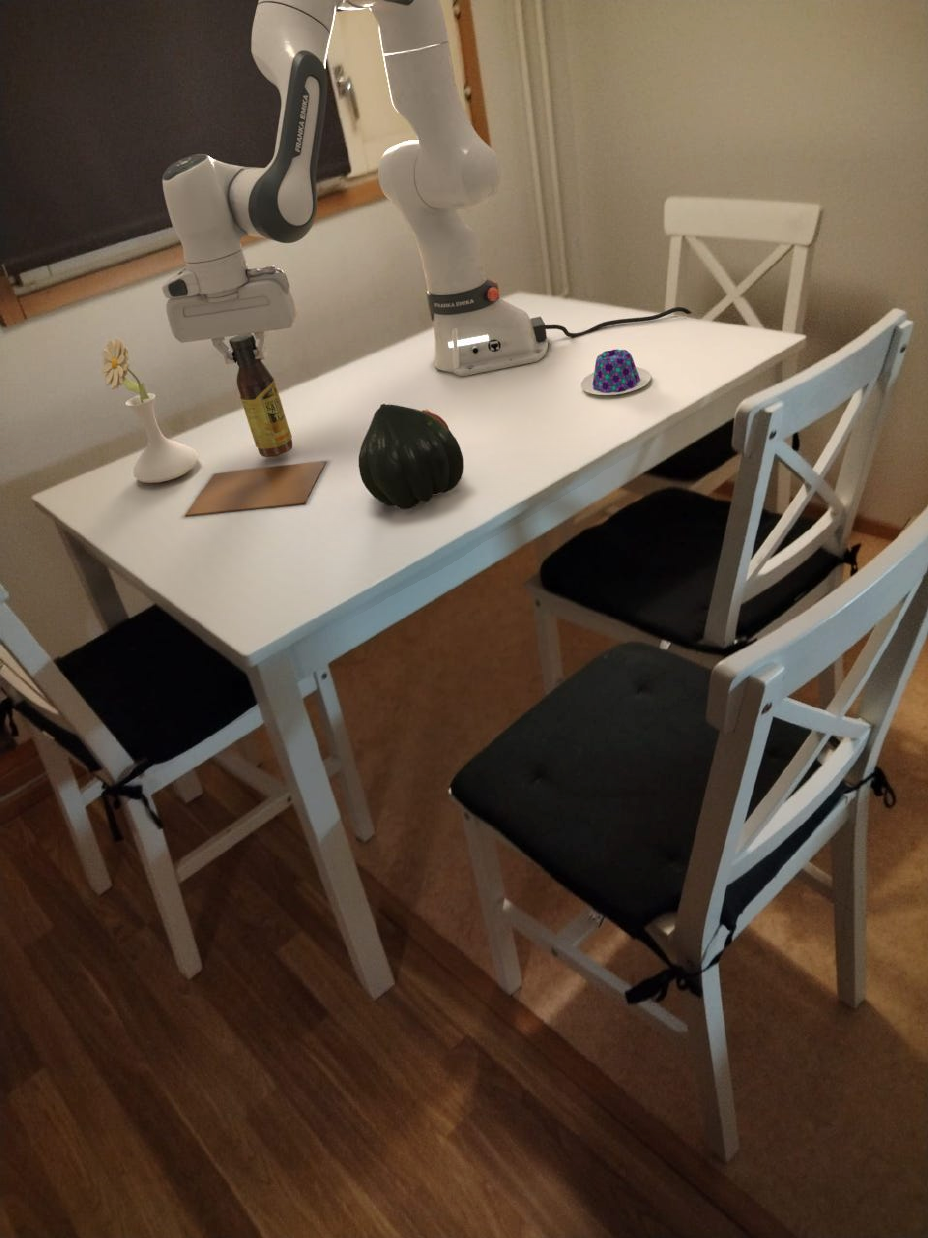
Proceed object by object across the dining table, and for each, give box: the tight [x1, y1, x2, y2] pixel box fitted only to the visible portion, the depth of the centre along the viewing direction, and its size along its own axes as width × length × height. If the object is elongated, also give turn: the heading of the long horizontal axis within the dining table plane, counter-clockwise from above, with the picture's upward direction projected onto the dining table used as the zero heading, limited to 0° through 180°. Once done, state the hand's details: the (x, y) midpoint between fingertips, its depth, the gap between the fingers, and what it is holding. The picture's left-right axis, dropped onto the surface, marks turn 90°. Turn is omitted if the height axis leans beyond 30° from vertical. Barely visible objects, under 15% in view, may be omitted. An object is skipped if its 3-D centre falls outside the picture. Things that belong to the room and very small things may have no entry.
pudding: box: [580, 349, 652, 396], centre depth 158 cm, size 12×12×5 cm
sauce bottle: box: [228, 333, 293, 458], centre depth 154 cm, size 7×6×20 cm
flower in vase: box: [101, 336, 199, 484], centre depth 154 cm, size 13×11×25 cm
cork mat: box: [184, 460, 327, 517], centre depth 151 cm, size 20×14×1 cm
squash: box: [358, 403, 465, 510], centre depth 136 cm, size 14×15×15 cm
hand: (247, 360), depth 151 cm, fingers closed on sauce bottle, 4 cm apart
